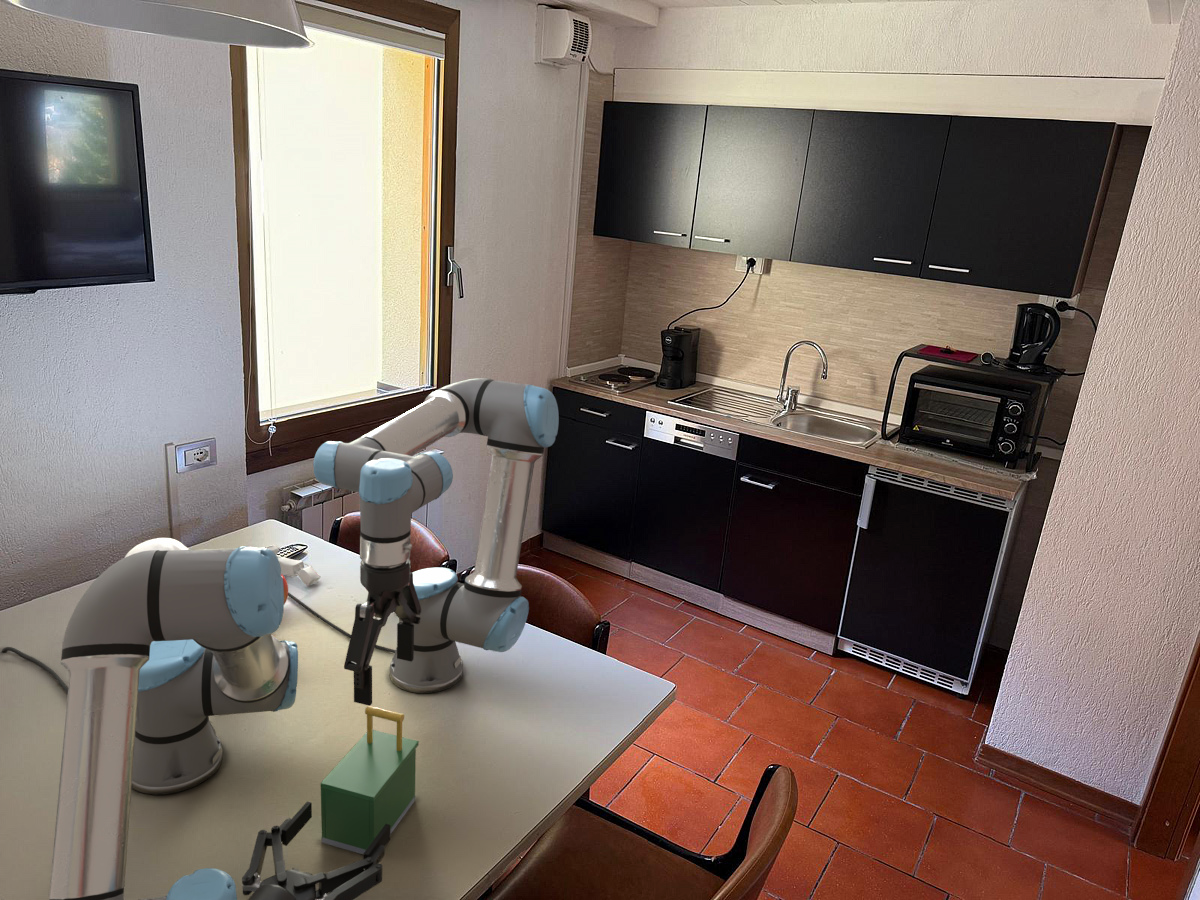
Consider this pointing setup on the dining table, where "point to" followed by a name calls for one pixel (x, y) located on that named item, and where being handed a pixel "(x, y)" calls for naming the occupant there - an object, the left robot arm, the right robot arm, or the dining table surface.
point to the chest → (367, 811)
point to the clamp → (296, 568)
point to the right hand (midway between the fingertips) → (385, 680)
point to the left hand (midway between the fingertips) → (348, 819)
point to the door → (371, 759)
